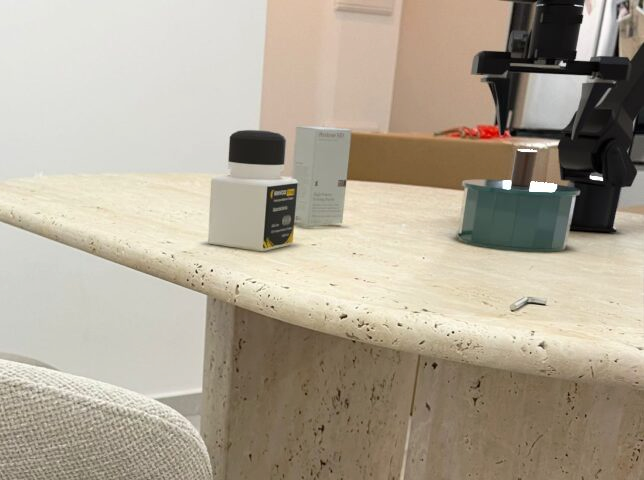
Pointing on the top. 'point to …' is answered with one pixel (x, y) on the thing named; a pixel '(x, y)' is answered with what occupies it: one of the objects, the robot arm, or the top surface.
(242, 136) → the medicine bottle
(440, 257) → the top surface
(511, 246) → the tin
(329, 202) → the cosmetic box
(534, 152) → the lid
